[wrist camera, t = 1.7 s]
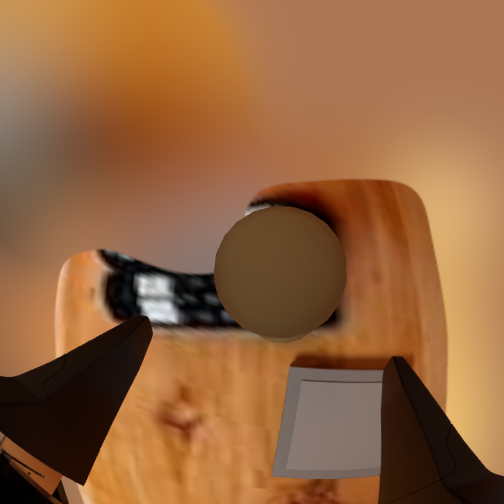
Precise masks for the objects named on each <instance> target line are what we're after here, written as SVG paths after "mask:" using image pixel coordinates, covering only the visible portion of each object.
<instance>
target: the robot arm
mask: <svg viewBox="0 0 504 504" xmlns="http://www.w3.org/2000/svg"><path fill="white" fill-rule="evenodd" d="M152 336H153V331H152V327H151V324H150V320H149V318H148V317H147V316H144V315H136V316H134V317H132V318H131V319H129V320H127V321H125V322H123V323H121V324H120V325H118V326H116V327H114V328H112V329H110V330H109V331H107V332H105V333H103V334H101V335H99V336H97V337H96V338H94V339H92V340H90V341H88V342H86V343H85V344H83V345H81V346H79V347H77V348H75V349H73V350H72V351H70V352H68V353H67V354H64V355H62V356H60V357H59V358H57V359H55V360H53V361H51V362H49V363H46V364H44V365H42V366H40V367H37V368H35V369H33V370H30V371H28V372H25V373H23V374H21V375H18V376H14V377H3V376H0V504H68V503H69V502H68V499H67V496H66V493H65V490H64V487H63V484H62V481H61V478H62V476H65V477H67V478H69V479H71V480H73V481H74V482H76V483H78V484H80V485H82V486H84V485H85V483H86V480H87V478H88V476H89V473H90V471H91V469H92V467H93V464H94V462H95V460H96V458H97V455H98V453H99V451H100V448H101V446H102V444H103V442H104V440H105V438H106V436H107V434H108V431H109V429H110V427H111V425H112V423H113V421H114V419H115V417H116V415H117V413H118V411H119V409H120V407H121V405H122V403H123V401H124V399H125V397H126V395H127V393H128V391H129V389H130V387H131V385H132V383H133V381H134V379H135V377H136V375H137V373H138V371H139V369H140V367H141V364H142V362H143V359H144V357H145V354H146V352H147V349H148V346H149V344H150V341H151V339H152ZM378 504H504V476H501V475H498V474H495V473H492V472H490V471H489V470H488V469H487V468H486V467H485V466H484V465H483V464H482V463H481V461H480V460H479V459H478V457H477V456H476V455H475V454H474V453H473V451H472V450H471V449H470V448H469V446H468V445H467V444H466V443H465V441H464V440H463V439H462V437H461V436H460V435H459V433H458V432H457V430H456V429H455V427H454V426H453V424H451V422H450V420H449V419H448V417H447V416H446V414H445V413H444V411H443V410H442V409H441V407H440V406H439V404H438V403H437V402H436V400H435V399H434V397H433V396H432V395H431V393H430V392H429V391H428V389H427V388H426V386H425V385H424V384H423V382H422V381H421V380H420V378H419V377H418V376H417V374H416V373H415V372H414V370H413V369H412V368H411V366H410V365H409V364H408V363H407V361H406V360H405V359H404V358H403V357H402V356H392V357H391V358H390V360H389V362H388V364H387V365H386V367H385V369H384V371H383V375H382V397H381V469H380V487H379V499H378Z"/></svg>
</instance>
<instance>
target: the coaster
mask: <svg viewBox="0 0 504 504" xmlns="http://www.w3.org/2000/svg"><path fill="white" fill-rule="evenodd" d="M383 371H384V369H339V368H318V367H304V366H292V365H290V367H289V374H288V381H287V388H286V395H285V402H284V408H283V414H282V421H281V427H280V432H279V438H278V444H277V449H276V455H275V460H274V465H273V470H272V476H275V477H287V478H306V479H338V478H357V477H369V476H378V475H380V469H381V397H382V375H383Z"/></svg>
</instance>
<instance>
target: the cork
mask: <svg viewBox="0 0 504 504" xmlns="http://www.w3.org/2000/svg"><path fill="white" fill-rule="evenodd" d="M214 280H215V284H216V289H217V293H218V298H219V300H220V301H221V303H222V305H223V306H224V308H225V310H226V311H227V313H228V315H229V316H230V317H231V318H232V319H234V320H235V321H236V322H237V323H238V324H240V325H241V326H242V327H243V328H244V329H246V330H248V331H251V332H253V333H256V334H258V335H260V336H261V337H262V338H265V339H267V340H270V341H273V342H284V343H288V342H291V341H295V340H299V339H301V338H303V337H304V336H306V335H307V334H308V333H310V332H311V331H312V330H313V329H315V328H316V327H318V326H319V325H321V324H322V323H324V322H325V321H326V320H328V318H329V317H330V316H331V314H332V313H333V312H334V310H335V309H336V307H337V306H338V305H339V303H340V301H341V298H342V295H343V292H344V289H345V286H346V258H345V255H344V252H343V249H342V247H341V244H340V241H339V239H338V238H337V236H336V235H335V234H334V233H333V231H332V230H331V229H330V227H329V226H328V225H327V224H326V223H325V222H323V221H322V220H320V219H319V218H317V217H316V216H315V215H313V214H312V213H310V212H307V211H303V210H300V209H297V208H294V207H274V206H272V207H269V208H265V209H261V210H258V211H254V212H252V213H251V214H249V215H247V216H246V217H244V218H243V219H241V220H239V221H238V222H237V223H236V224H235V225H234V226H233V227H232V228H231V230H229V232H228V233H227V234H226V235H225V236H224V238H223V240H222V242H221V245H220V247H219V249H218V251H217V254H216V259H215V268H214Z"/></svg>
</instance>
